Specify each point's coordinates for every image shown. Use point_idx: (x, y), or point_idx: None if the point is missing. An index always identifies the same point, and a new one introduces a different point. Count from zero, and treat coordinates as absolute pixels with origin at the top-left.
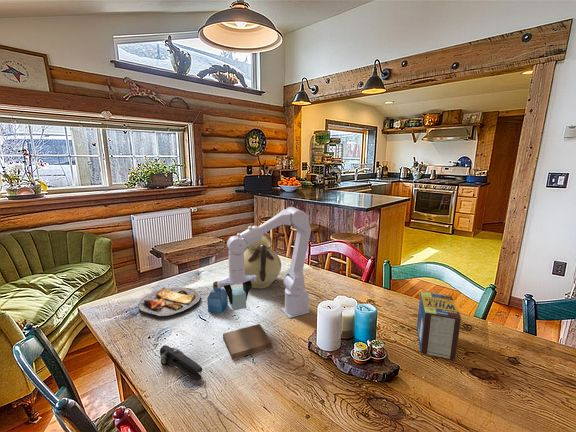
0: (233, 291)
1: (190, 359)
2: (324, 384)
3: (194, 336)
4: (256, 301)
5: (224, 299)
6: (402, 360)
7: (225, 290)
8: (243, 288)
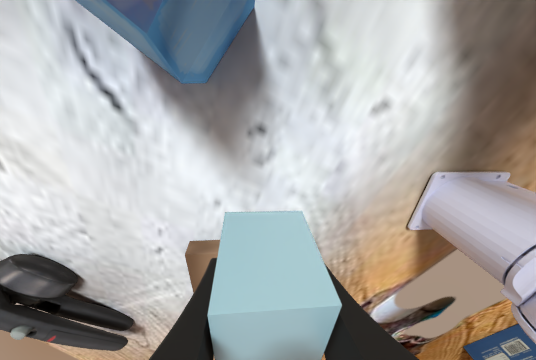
0: (241, 334)
1: (85, 342)
2: None
3: (86, 201)
4: (410, 47)
5: (219, 32)
6: (433, 349)
7: (151, 357)
8: (341, 334)
